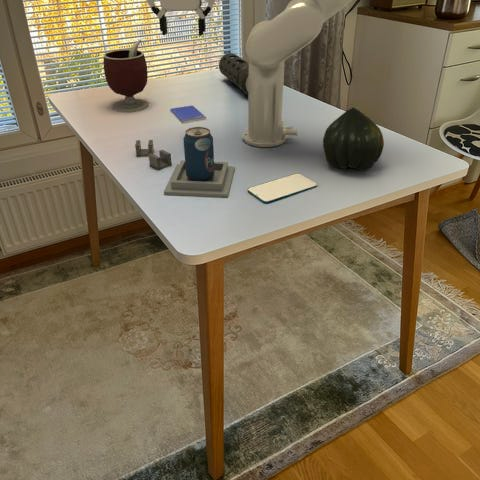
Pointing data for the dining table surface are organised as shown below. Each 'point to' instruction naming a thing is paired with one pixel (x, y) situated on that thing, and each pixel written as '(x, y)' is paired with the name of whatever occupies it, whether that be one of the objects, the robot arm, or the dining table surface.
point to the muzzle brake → (235, 70)
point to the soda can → (199, 154)
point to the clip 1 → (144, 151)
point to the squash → (353, 141)
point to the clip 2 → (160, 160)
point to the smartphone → (281, 188)
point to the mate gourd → (127, 77)
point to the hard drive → (187, 114)
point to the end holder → (201, 182)
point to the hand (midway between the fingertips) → (183, 34)
